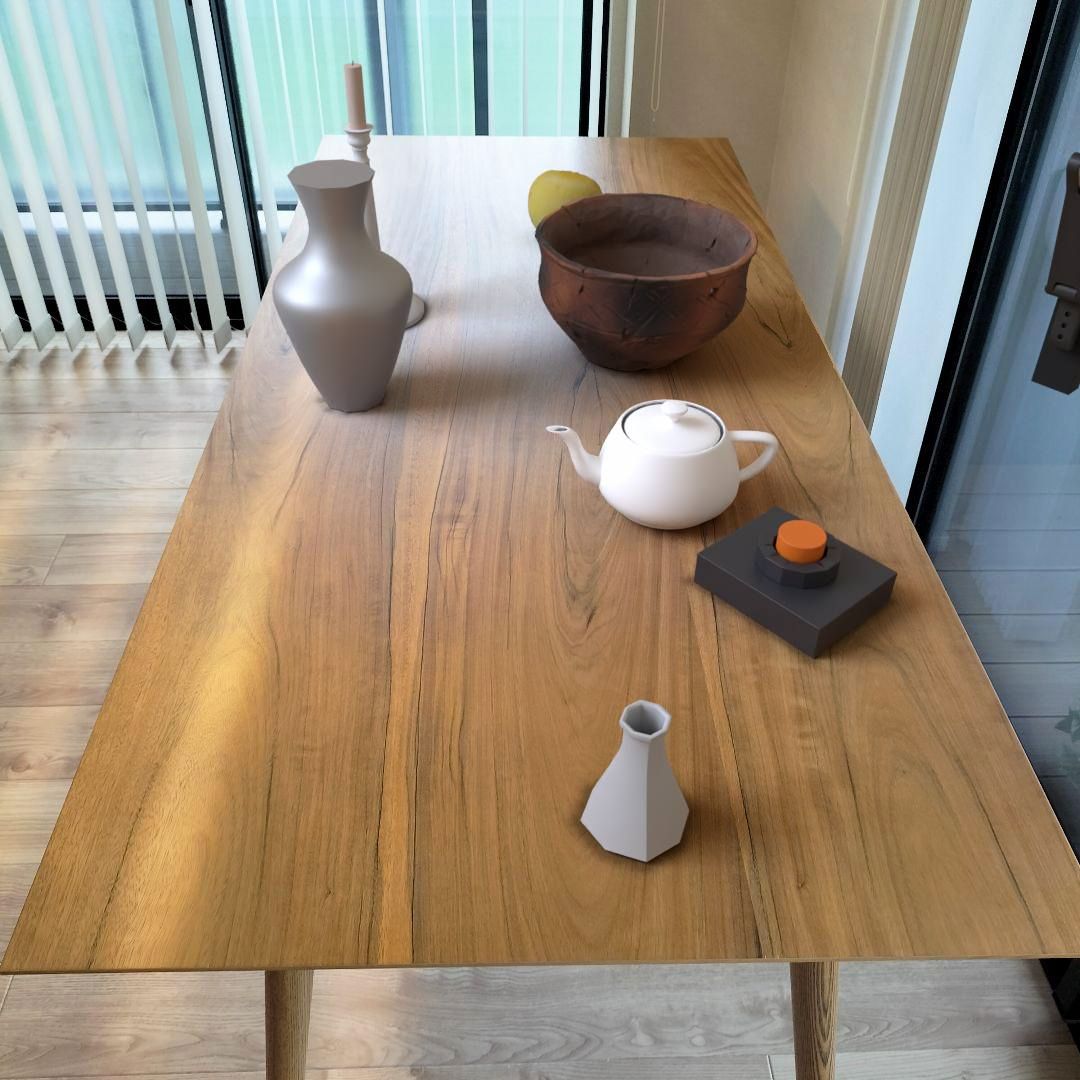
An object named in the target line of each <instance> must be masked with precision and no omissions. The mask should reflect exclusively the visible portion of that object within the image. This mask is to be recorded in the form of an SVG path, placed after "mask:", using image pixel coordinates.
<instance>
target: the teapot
mask: <svg viewBox="0 0 1080 1080" xmlns="http://www.w3.org/2000/svg"><path fill="white" fill-rule="evenodd" d="M545 430H546V431H547V432H549V433H552V434H554V435H555V436H557V437H559V438H561V439H562V441H563V442H564V443H565V445H566V447H567V449H568V451H569V454H570V457H571V460H572V464H573V467H574V469H575V472H576V473H577V474H578V475H579V477H580V478H581V479H582V480H583V481H585V482H586V483H588V484H589V485H591V486H594V487H598V489H599V491H600V494H601V495H602V497H603V498H604V499H605V501H606V502H607V503H608V505H610V506H611V507H612V508H613V509H614V510H616V511H617V512H618V513H619V514H622V516H624V517H626V518H627V519H629V520H630V521H632V522H634V523H637V524H638V525H642V526H644V527H648V528H652V529H658V530H673V531H674V530H684V529H688V528H694V527H695V526H698V525H701V524H703V523H705V522H708V521H710V520H712V519H714V518H716V517H718V516H719V515H721V514H722V513H724V511H726V509H728V508H729V507H730V506H731V505H732V504H733V502H734V501H735V498H736V496H737V494H738V491H739V487H740V483H743V482H746V481H747V480H749V479H751V478H753V477H755V476H757V475H759V474H760V473H761V472H762V471H764V470H765V469H766V468H767V467H769V466H770V464H771V463H772V462H773V461H774V460H775V458H776V456H777V455H778V451H779V441H778V439H777V437H776V436H775V435H774V434H771V433H770V432H766V431H761V430H760V431H759V430H728V427H727V426H726V424H725V422H724V421H723V419H722V418H721V417H720V416H719V415H718V414H717V413H715V412H713V410H711V409H709V408H707V407H705V406H703V405H700V404H697V403H694V402H690V401H686V400H680V399H653V400H648V401H647V400H646V401H644V402H643V401H642V402H639V403H637V404H634V405H632V406H630V407H629V408H628V409H627V410H625V411H624V412H623V413H622V414H621V415H620V416H619V418H618V419H617V421H616V422H615V423H614V425H613V427H612V428H611V430H610V432H609V433H608V435H607V437H606V438H605V440H604V443H603V444H602V446H601V449H600V452H599V455H595V454H591V453H589V452H588V451H586V450H585V448H584V446H583V444H582V441H581V439H580V437H579V435H578V433H577V432H576V430H574V429H573V428H570V427H569V426H565V425H549V426H546V428H545ZM734 443H758V444H759V443H760V444H765V448H764V450H763V452H762V453H761V454H760V455H759V457H757V459H755V460H754V461H753V462H752V463H750V464H748V465H747V466H746V467H744V468H742V469H740V467H739V466H740V465H739V460H738V456H737V455H738V454H737V452H736V449H735V446H734Z"/></svg>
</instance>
